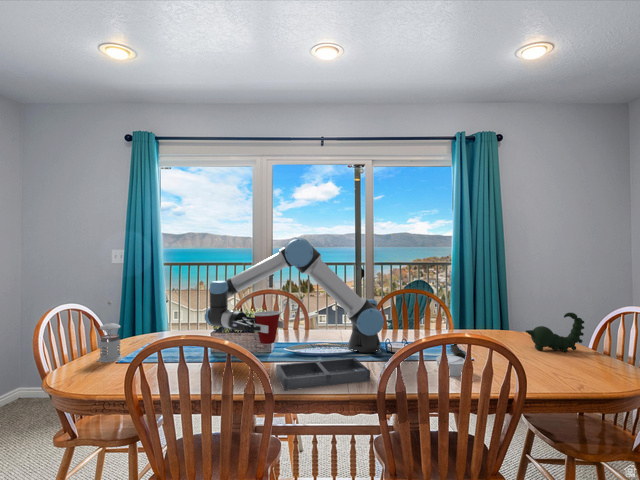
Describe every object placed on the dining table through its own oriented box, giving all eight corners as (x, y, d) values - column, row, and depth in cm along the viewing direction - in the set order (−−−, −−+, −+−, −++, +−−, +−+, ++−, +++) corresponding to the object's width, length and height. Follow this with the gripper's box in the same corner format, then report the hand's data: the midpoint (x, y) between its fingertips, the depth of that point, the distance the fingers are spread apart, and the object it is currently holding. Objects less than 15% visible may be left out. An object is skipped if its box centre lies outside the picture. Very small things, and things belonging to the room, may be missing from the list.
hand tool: (465, 362, 174) (465, 351, 174) (455, 361, 175) (455, 350, 175) (458, 349, 193) (458, 339, 193) (449, 349, 194) (449, 339, 194)
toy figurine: (573, 351, 195) (519, 345, 196) (577, 311, 194) (523, 306, 196) (585, 357, 185) (528, 351, 187) (589, 315, 185) (532, 310, 186)
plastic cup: (269, 337, 171) (269, 308, 170) (286, 342, 163) (286, 311, 163) (247, 341, 163) (247, 311, 163) (264, 347, 155) (264, 315, 155)
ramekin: (466, 379, 154) (466, 365, 154) (435, 376, 157) (435, 362, 157) (465, 369, 165) (465, 356, 165) (436, 366, 168) (436, 353, 168)
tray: (354, 367, 167) (354, 357, 167) (370, 381, 151) (370, 370, 151) (276, 374, 158) (276, 364, 158) (284, 390, 143) (284, 379, 143)
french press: (100, 363, 171) (100, 303, 171) (93, 357, 180) (93, 300, 179) (126, 359, 178) (125, 301, 177) (118, 353, 186) (117, 297, 186)
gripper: (252, 324, 182) (293, 331, 169) (214, 334, 164) (256, 343, 151) (252, 307, 182) (293, 313, 169) (214, 315, 164) (256, 322, 151)
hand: (275, 327), depth 160 cm, fingers closed on plastic cup, 9 cm apart
